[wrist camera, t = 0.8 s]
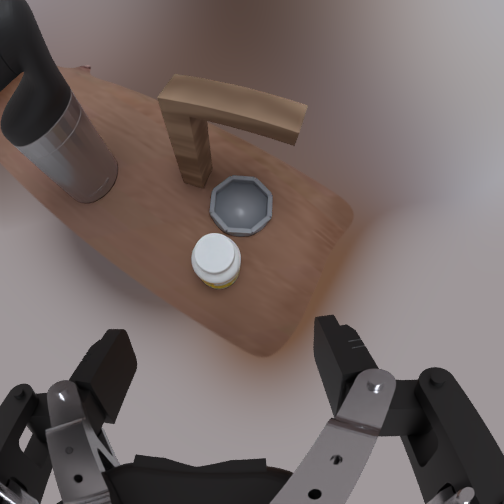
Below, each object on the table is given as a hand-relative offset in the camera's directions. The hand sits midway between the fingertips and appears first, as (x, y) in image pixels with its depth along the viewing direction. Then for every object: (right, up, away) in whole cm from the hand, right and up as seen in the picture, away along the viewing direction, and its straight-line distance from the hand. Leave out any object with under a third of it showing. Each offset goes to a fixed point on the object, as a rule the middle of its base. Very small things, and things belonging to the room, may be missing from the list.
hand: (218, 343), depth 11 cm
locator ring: (0, +10, +28) cm, 29 cm away
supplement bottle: (-3, +2, +26) cm, 26 cm away
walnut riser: (-2, +13, +28) cm, 31 cm away
